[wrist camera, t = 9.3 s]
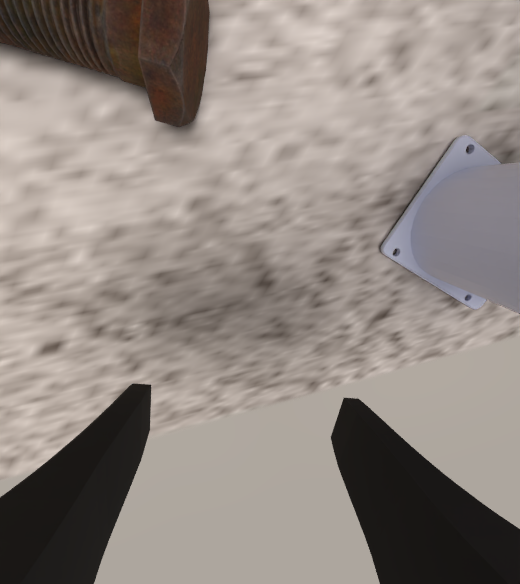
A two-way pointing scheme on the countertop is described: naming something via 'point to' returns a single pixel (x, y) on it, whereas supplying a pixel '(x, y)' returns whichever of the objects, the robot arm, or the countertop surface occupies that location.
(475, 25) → the countertop surface
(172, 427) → the countertop surface
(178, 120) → the bolt
